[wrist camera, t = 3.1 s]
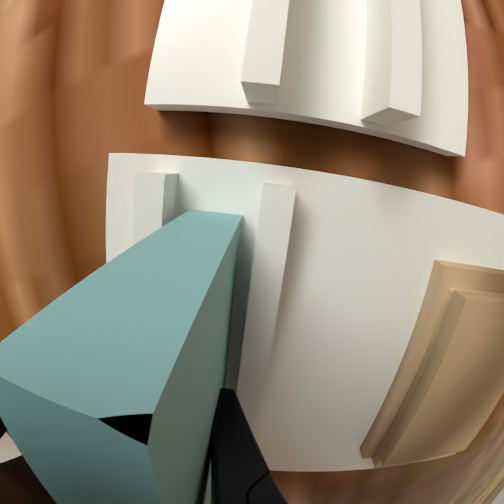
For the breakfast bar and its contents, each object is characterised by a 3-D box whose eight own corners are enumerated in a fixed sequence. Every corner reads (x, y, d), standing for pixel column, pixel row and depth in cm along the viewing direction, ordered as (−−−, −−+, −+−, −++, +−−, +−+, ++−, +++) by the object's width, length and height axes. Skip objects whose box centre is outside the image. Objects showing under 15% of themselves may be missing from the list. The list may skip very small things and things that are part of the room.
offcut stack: (359, 447, 11) (368, 482, 9) (434, 259, 9) (468, 282, 7) (444, 437, 11) (458, 465, 9) (522, 273, 9) (554, 292, 7)
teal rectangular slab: (185, 442, 11) (146, 588, 4) (190, 209, 9) (-24, 362, 1) (219, 448, 11) (193, 598, 4) (242, 215, 9) (145, 432, 1)
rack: (138, 430, 13) (124, 463, 11) (125, 153, 9) (88, 152, 7) (428, 444, 13) (441, 473, 11) (522, 221, 9) (559, 234, 7)
